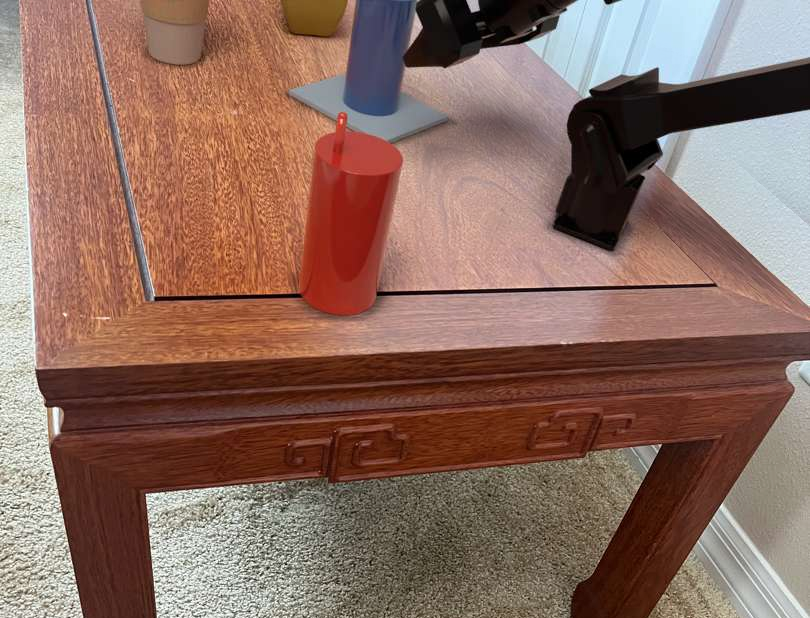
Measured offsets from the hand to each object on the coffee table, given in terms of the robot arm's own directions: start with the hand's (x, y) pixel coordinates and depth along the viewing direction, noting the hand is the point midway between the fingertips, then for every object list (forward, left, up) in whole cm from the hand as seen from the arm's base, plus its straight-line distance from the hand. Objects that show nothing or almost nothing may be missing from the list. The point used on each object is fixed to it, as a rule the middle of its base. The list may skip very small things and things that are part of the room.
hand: (432, 54), depth 85 cm
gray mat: (+7, -2, -9) cm, 11 cm away
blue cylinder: (+7, -2, -8) cm, 11 cm away
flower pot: (+24, -17, -9) cm, 31 cm away
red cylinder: (-7, +31, -9) cm, 33 cm away
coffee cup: (+30, +3, -9) cm, 31 cm away
